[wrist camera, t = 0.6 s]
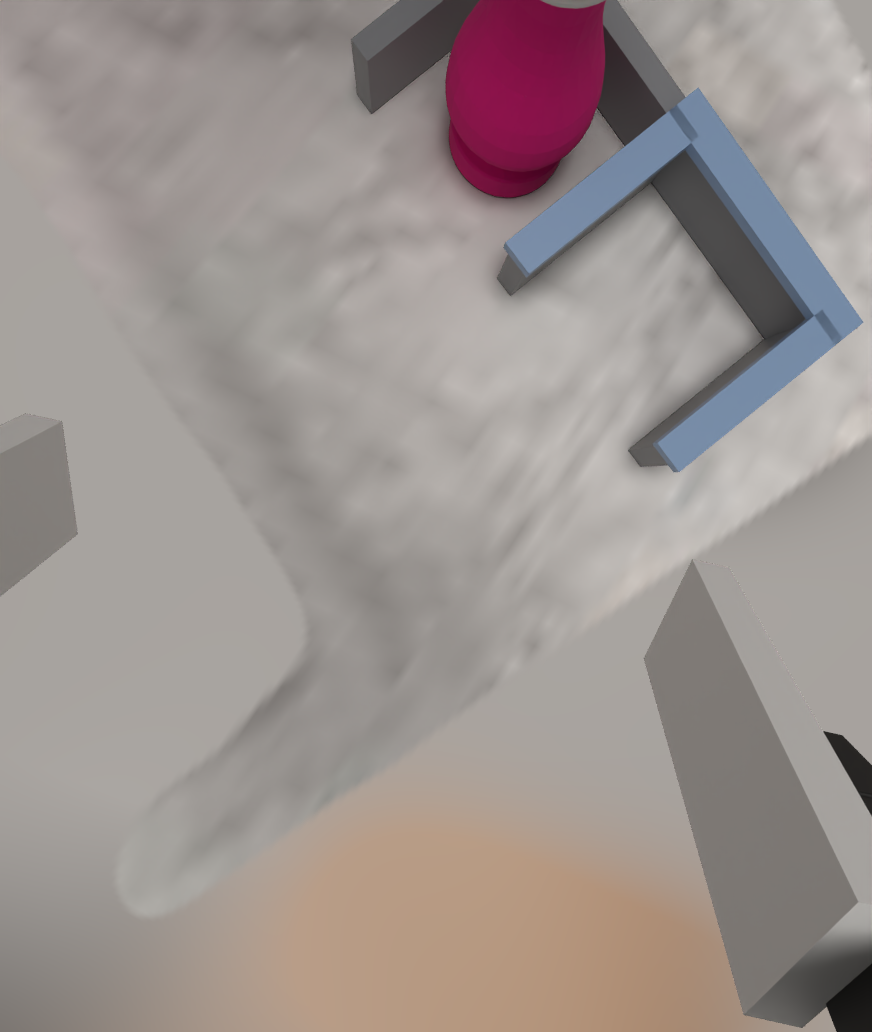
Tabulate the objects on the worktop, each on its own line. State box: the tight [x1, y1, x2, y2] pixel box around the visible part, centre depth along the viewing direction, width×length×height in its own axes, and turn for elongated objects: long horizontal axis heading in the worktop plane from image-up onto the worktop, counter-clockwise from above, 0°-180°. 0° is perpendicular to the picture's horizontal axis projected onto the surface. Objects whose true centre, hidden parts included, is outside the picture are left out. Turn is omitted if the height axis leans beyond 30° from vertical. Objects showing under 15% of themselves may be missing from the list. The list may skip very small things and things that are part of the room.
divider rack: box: [351, 0, 863, 472], centre depth 30 cm, size 26×12×5 cm, turn 39°
